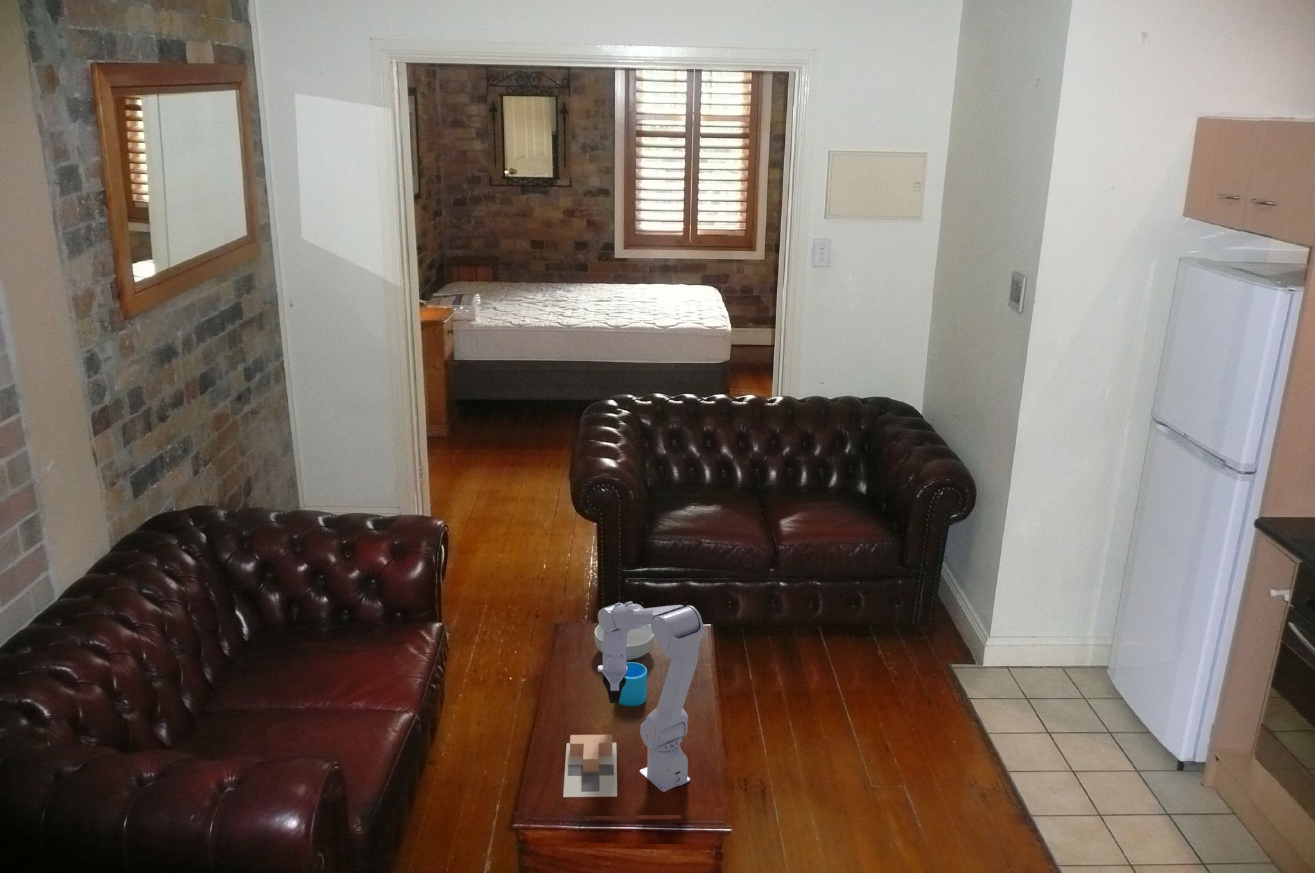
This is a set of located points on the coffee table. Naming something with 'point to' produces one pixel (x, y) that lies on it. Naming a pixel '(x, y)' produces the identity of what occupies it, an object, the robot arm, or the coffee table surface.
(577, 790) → the push mat
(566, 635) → the coffee table surface
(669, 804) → the coffee table surface
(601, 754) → the t block
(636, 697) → the mug
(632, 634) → the cereal bowl
